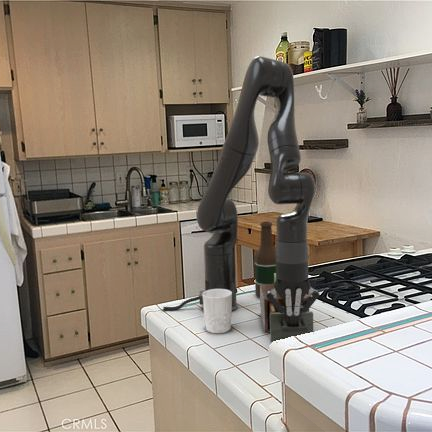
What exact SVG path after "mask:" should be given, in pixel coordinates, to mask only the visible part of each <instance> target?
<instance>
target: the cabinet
mask: <svg viewBox="0 0 432 432" xmlns="http://www.w3.org/2000/svg"><path fill="white" fill-rule="evenodd" d="M272 288H274V284H260V298H259V301H260V302H259V303H260V304H259V305H260V307H259V308H260V309H259V310H260V318H261V322H262V326H263V331H264V333H265V334H266V333H267V334H270V326H269V323H268V302H270V300H269V299H268V298H267V296H266V291H270V290H271V289H272ZM276 295H277V297H276V299H277V300H278V301H279V302H285V300H283V299H282V298H281V297H280V295H279V294H278V293H276ZM307 297H308V293H307V294H306V295H305V296H304V298H303V299H302V300H301V301H305V300H306V298H307ZM291 302H292V301H291ZM309 311H310V308H309V309H308V312H309Z"/></svg>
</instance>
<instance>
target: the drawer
mask: <svg viewBox="0 0 432 432" xmlns="http://www.w3.org/2000/svg"><path fill="white" fill-rule="evenodd" d="M303 302H304V301H301V302H300V306H301V305H302V303H303ZM280 304H281V305H282V306H284V307H285V302H280ZM291 304H292V313H293V301H292V302H291ZM268 323H269V326H270V333H269V337H270V339H269V341H270V343H271V342H273V341H276V340H280V339H285V338H288V337H291V336H297V335H301V334H305V333H310V332H313V333H314V312H313V311H312V310H311V311H310V310H309V312H308V311H307V312H306V313H301V314H300V315H299V326H287V325H286V314H284V313H283V314H281V313H280V312H279V311H278V310H277V309H276V308H275V306H274V305H273V304H272V303H271V302H268Z"/></svg>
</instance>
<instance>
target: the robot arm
mask: <svg viewBox="0 0 432 432" xmlns="http://www.w3.org/2000/svg"><path fill="white" fill-rule="evenodd" d="M294 79H295V78H294V74H293V69H292V67H291V65H290V64H289V63H287V62H284V61H282V60H277V59H273V58H270V57H265V56H259V55H258V56H255V57H253V58H252V60H251V61H250V63H249V65H248V67H247V70H246V71H245V75H244V79H243V82H242V86H241V89H240V94H239V97H238V101H237V105H236V109H235V112H234V115H233V118H232V121H231V123H230V126H229V129H228V132H227V133H226V134H227V135H226V137H225V139H224V142H223V145H222V147H221V150H220V154H219V157H218V160H217V163H216V165H215V168H214V170H213V173H212V176H211V178H210V181H209V183H208V185H207V187H206V190H205V191H204V194H203V195H202V198H201V199H200V203H199V204H198V207H197V209H196V222H197V225H198V226H199V228H200V229H201V231H205V232H213V233H212V235H211V237H210V238H209V239H207V240H206V241H205V243H204V244H203V256H204V259H203V260H204V290H199V294H198V295H199V296H195V297H191V298H189V299H186V300H184V301H182V302H181V303H180V304H179V305H177V306H163V307H162V309H163V311H176V310H177V311H178V310H180V309H182V308H183V307H184V306H185V305H187V304H189V303H191V302H196V301H199V305H200V306H203V295H202V293H203V292H204V291H207V290H210V289H226V290H229V291H231V292H232V310H231V311H235V310H236V309H237V308H238V303H237V301H238V300H237V294H238V288H237V274H236V270H237V269H236V245H237V242H238V227H239V226H238V224H239V219H238V217H239V216H238V209H237V206H236V204H235V202H234V201H233V200H232V199H231V198H229V195H230V193H231V192H232V191H233V189H234V188H235V187H236V186H237V184H238V183H239V182H240V181H241V180H242V179H243V178H244V177H245V176H246V175H247V173H248V172H249V171H250V169H251V166H252V165H253V163H254V160H255V158H256V155H257V153H258V151H259V146H260V138H259V134H258V133H259V132H258V130H257V126H256V125H257V124H256V120H255V109H256V105H257V101H258V98H259V97H260V96H262V97H266V98H270V99H274V100H275V103H276V109H277V110H276V112H275V116H274V118H273V119H272V121H271V123H270V125H269V128H268V130H267V145H268V153H269V156H270V157H269V158H270V173H269V174H270V175H269V181H268V185H267V186H268V188H267V193H268V197H269V199H270V201H272V202H273V203H274V204H275V205H293V204H294V205H295V204H296V205H295V207H294V208H293V210H291V211H289V212H286V213H283V214H280V215H278V216H277V218H276V223H275V225H276V243H275V250H276V281H275V283H274V288H272V289H271V290H270V291H266V296H267V298H268V299H269V300H270V302H271V303H272V304H273V305H274V306H275V308H276V309H277V310H278V311H279V312H280V313H281V314H283V313H284V314H286V325H287V326H299V315H300V314H301V313H306V312H307V311H308V309H309V310H310V308H311V307H312V306H313V305H314V303H315V302H316V301H317V300H318V299H319V297H320V292H319V291H318V289H316V288H313V287H312V286H311V282H310V280H309V258H310V255H309V244H308V223H309V222H308V221H309V216H310V210H311V208H312V204H313V201H314V197H315V193H316V182H315V179H314V178H313V176H312V175H311V174H310V173H308V172H286V171H289V170H291V169H294V168H297V167H298V166H299V165H300V163H301V161H302V155H301V151H300V145H299V140H298V135H297V130H296V129H297V128H296V121H295V119H296V117H295V111H296V109H295V81H294ZM285 172H286V173H285ZM276 291H277V293H278V294H279V295H280V297H281V298H282V299H283V300H285V307H284V306H282V305H281V304H280V302H279V301H278V300H277V299H276V297H277V295H276ZM306 294H307V295H308V297H307V298H306V300H305V301H304V302H303V303H302V305H301V306H300V302H301V300H302V299H303V298H304V296H305V295H306ZM291 301H293V313H292V304H291Z"/></svg>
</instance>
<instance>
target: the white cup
mask: <svg viewBox="0 0 432 432" xmlns="http://www.w3.org/2000/svg"><path fill="white" fill-rule="evenodd" d="M203 291H204V292H203V293H202V295H203V305H202V306H203V316H204V321H205V322H204V323H205V329H206V331H207V332H208V333H212V334H224V333H227V332H229V331H231V328H232V322H231V321H232V313H233V312H232V311H233V310H232V292H231V291H229V290H226V289H210V290H207V291H205V290H203ZM231 310H232V311H231Z"/></svg>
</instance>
